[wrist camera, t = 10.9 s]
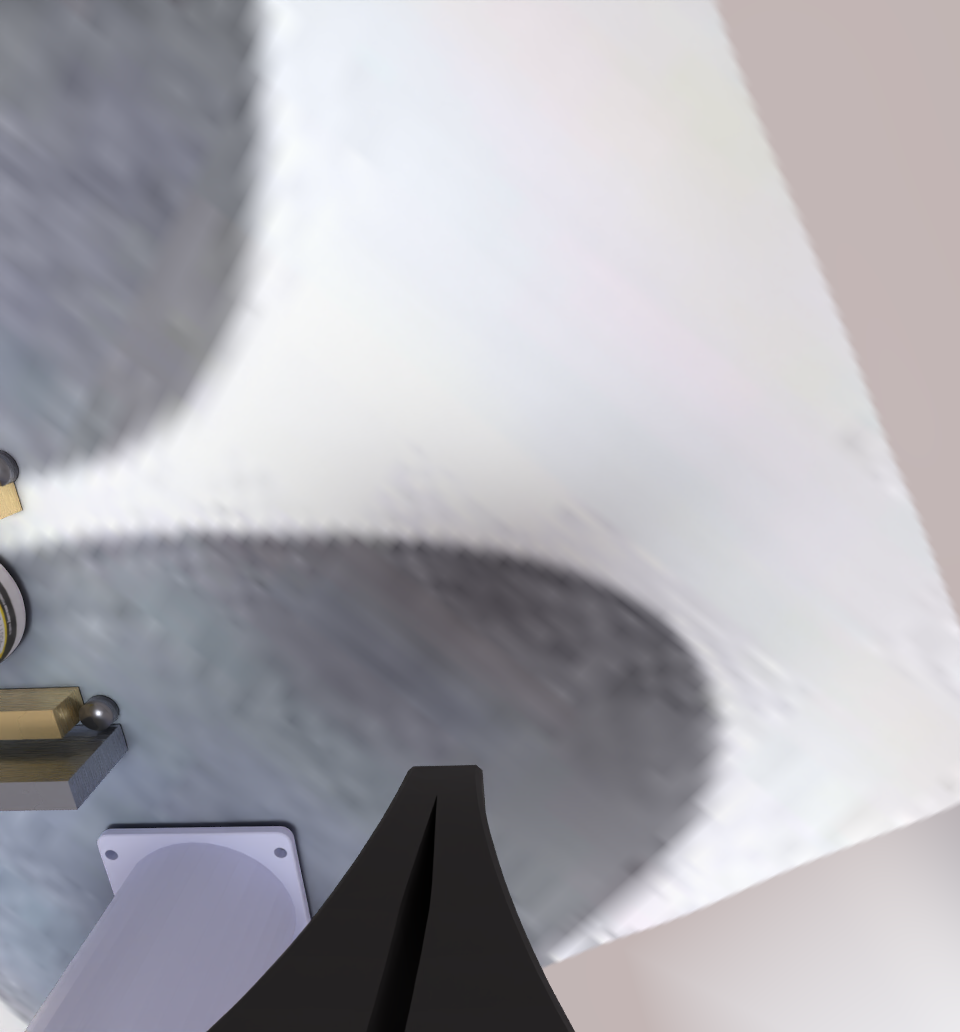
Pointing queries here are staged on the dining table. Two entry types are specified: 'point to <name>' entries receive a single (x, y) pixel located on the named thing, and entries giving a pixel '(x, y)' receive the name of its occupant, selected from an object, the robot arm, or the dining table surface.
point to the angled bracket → (51, 728)
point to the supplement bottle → (10, 614)
